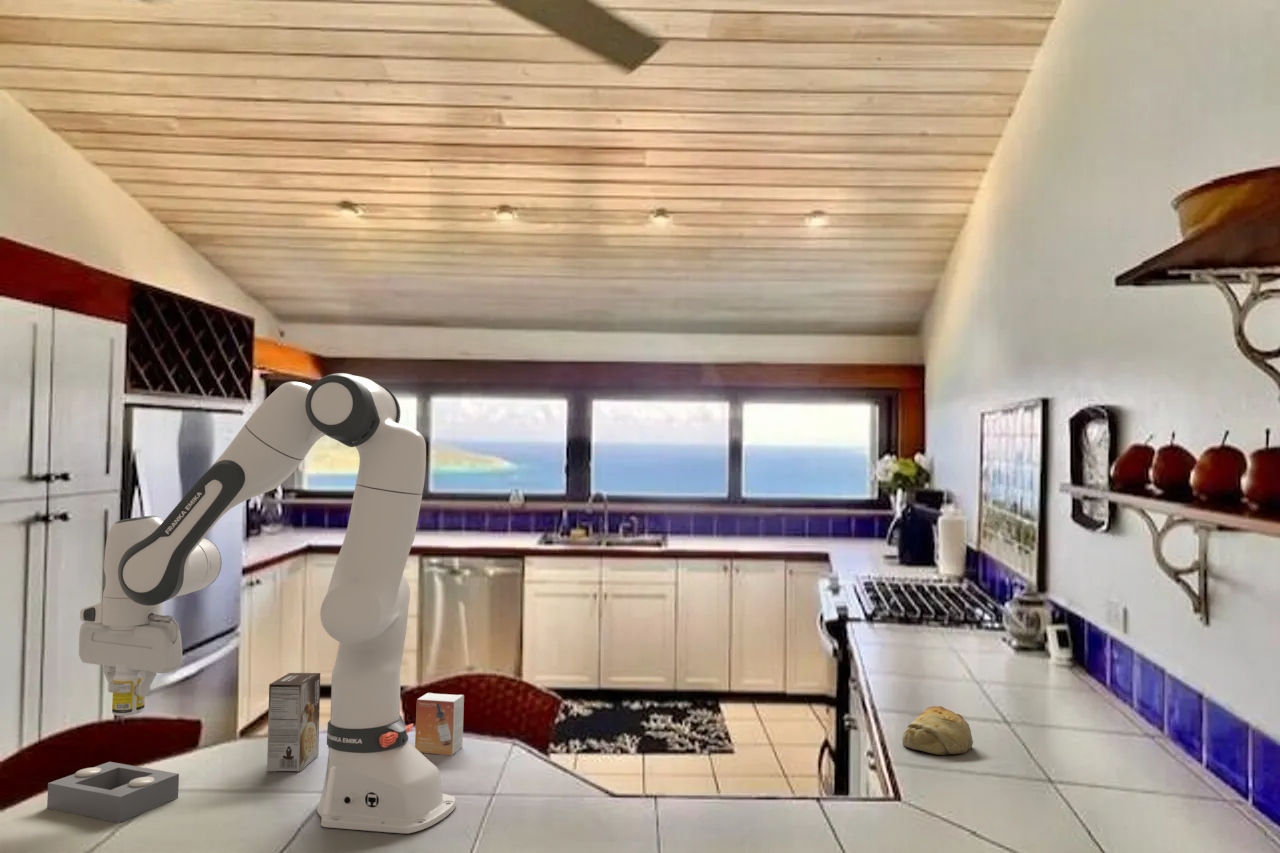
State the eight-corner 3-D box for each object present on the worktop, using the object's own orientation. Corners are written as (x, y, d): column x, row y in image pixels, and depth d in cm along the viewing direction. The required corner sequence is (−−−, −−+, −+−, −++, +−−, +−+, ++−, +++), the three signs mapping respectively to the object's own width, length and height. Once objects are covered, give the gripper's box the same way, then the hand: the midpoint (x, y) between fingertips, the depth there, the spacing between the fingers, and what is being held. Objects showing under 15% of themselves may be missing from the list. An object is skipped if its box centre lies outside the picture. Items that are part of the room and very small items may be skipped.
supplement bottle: (138, 706, 150) (140, 657, 151) (148, 712, 147) (151, 662, 147) (107, 712, 146) (109, 662, 147) (117, 718, 143) (120, 666, 144)
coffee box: (286, 755, 168) (289, 671, 169) (319, 755, 168) (321, 672, 169) (265, 772, 159) (268, 683, 160) (300, 772, 159) (302, 684, 160)
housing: (178, 797, 146) (179, 771, 147) (119, 822, 136) (120, 794, 136) (108, 784, 152) (109, 759, 152) (47, 807, 142) (48, 780, 142)
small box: (414, 753, 171) (415, 699, 171) (425, 744, 176) (427, 691, 177) (452, 756, 169) (454, 701, 170) (463, 747, 175) (464, 694, 175)
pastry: (968, 741, 183) (967, 702, 184) (978, 760, 171) (978, 719, 171) (898, 736, 186) (898, 698, 186) (904, 754, 174) (904, 714, 174)
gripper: (193, 613, 147) (190, 696, 146) (106, 604, 154) (103, 683, 153) (161, 619, 141) (158, 705, 140) (72, 610, 148) (68, 692, 148)
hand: (128, 694), depth 147 cm, fingers closed on supplement bottle, 5 cm apart
